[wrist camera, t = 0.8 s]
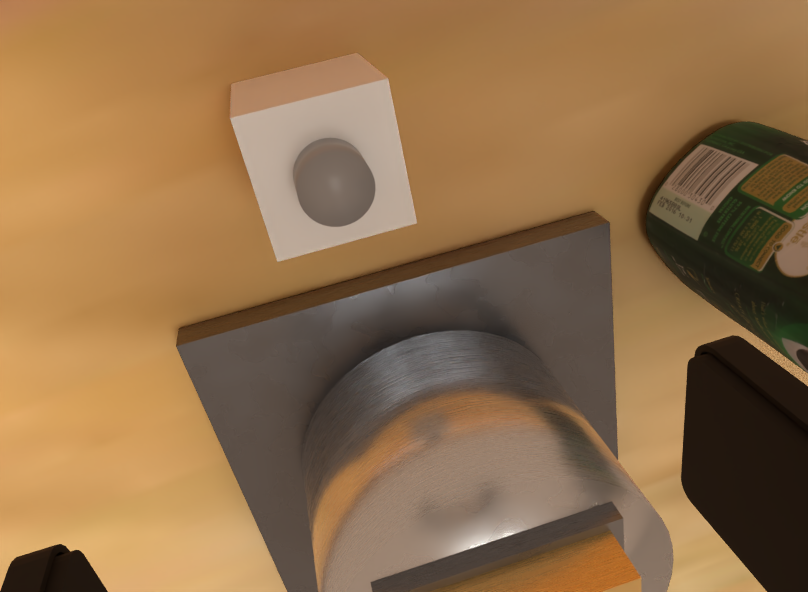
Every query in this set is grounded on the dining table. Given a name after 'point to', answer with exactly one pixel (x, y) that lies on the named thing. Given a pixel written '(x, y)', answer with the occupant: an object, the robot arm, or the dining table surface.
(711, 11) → the dining table surface
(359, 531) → the cylinder on square plate
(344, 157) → the white block with knob
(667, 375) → the dining table surface
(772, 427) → the robot arm
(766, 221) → the coffee jar
